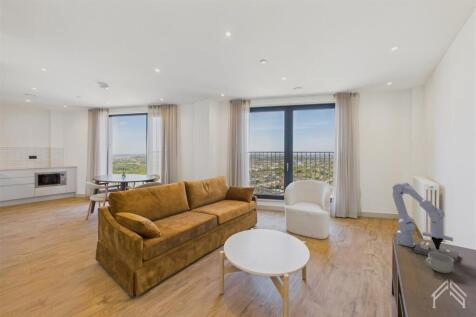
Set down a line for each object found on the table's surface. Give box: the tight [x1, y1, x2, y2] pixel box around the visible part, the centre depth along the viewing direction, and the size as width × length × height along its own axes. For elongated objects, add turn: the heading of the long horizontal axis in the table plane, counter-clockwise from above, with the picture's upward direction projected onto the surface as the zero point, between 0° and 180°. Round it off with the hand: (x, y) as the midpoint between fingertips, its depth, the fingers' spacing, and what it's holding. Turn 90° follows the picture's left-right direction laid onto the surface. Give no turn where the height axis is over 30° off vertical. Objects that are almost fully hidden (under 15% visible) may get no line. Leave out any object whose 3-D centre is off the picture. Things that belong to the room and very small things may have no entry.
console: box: [413, 243, 459, 263], centre depth 142 cm, size 20×12×2 cm, turn 41°
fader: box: [419, 241, 431, 250], centre depth 146 cm, size 4×5×3 cm
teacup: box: [425, 252, 455, 274], centre depth 123 cm, size 14×11×8 cm
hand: (437, 249), depth 141 cm, fingers closed
